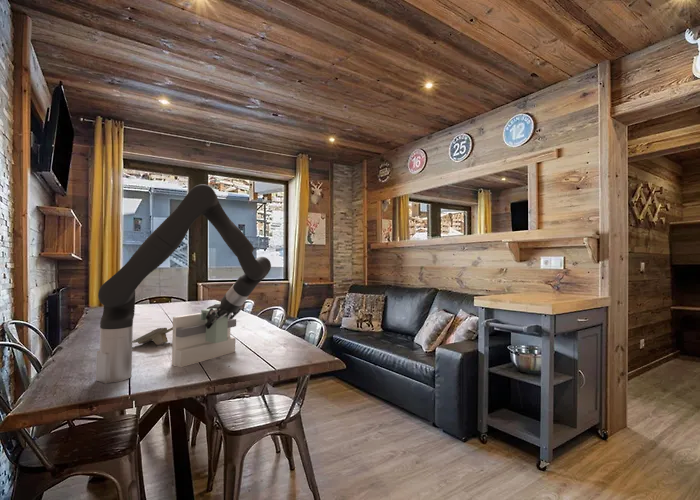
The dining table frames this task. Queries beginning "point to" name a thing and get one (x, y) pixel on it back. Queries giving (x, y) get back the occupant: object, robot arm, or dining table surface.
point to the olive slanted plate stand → (154, 336)
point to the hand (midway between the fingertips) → (213, 325)
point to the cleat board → (196, 341)
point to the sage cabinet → (216, 328)
